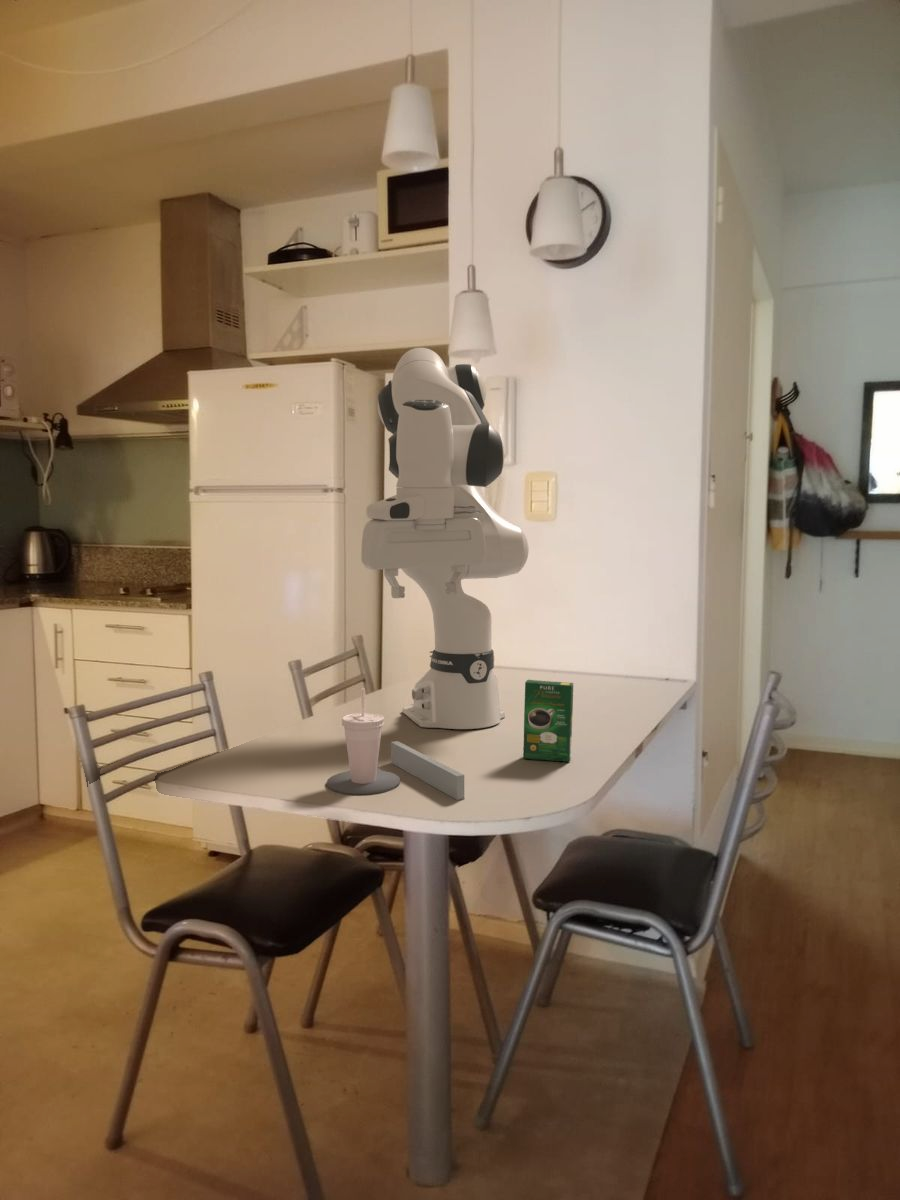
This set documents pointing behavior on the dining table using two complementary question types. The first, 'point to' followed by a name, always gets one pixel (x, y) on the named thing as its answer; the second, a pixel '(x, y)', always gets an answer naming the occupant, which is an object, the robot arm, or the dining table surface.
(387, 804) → the dining table surface
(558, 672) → the dining table surface
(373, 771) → the smoothie
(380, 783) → the pad
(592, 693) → the dining table surface
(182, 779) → the dining table surface
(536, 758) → the coffee box
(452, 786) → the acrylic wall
